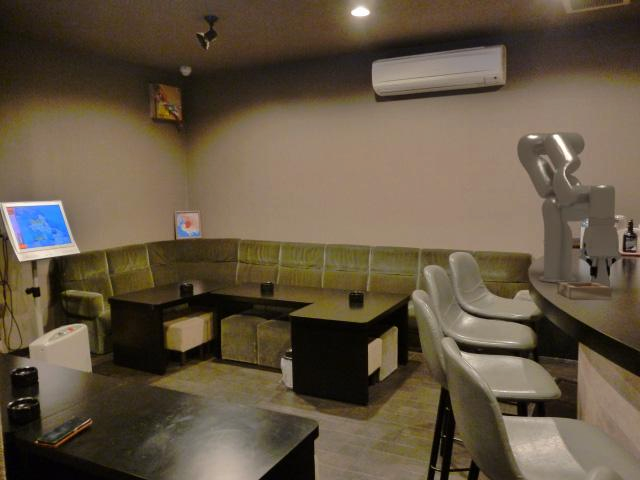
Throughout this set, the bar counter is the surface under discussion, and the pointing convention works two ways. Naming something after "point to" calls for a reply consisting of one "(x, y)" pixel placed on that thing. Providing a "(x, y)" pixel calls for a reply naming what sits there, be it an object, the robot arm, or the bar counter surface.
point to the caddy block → (585, 290)
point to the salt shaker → (601, 272)
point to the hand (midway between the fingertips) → (599, 277)
